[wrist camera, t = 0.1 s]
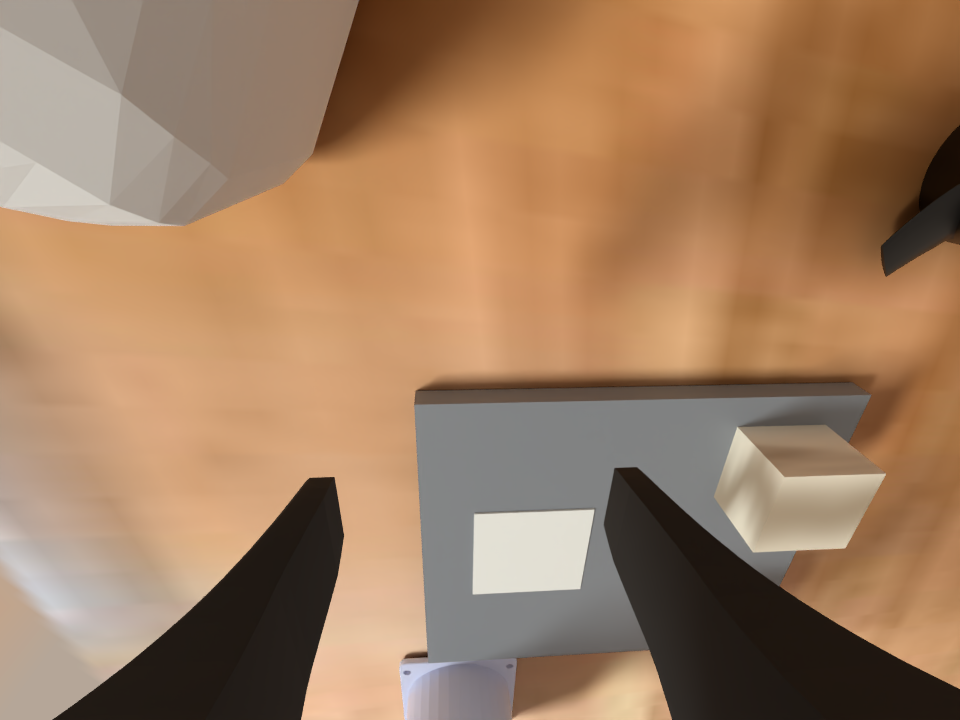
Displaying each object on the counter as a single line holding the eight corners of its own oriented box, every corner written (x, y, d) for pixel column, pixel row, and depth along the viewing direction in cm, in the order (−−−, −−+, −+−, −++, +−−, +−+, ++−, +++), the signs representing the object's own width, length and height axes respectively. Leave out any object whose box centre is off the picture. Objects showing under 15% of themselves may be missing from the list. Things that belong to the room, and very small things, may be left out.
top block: (794, 494, 25) (845, 548, 22) (713, 497, 25) (753, 552, 22) (825, 424, 23) (886, 473, 20) (737, 427, 23) (784, 477, 20)
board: (741, 626, 33) (752, 645, 32) (428, 644, 31) (428, 665, 30) (852, 382, 24) (873, 396, 22) (415, 390, 22) (414, 406, 21)
